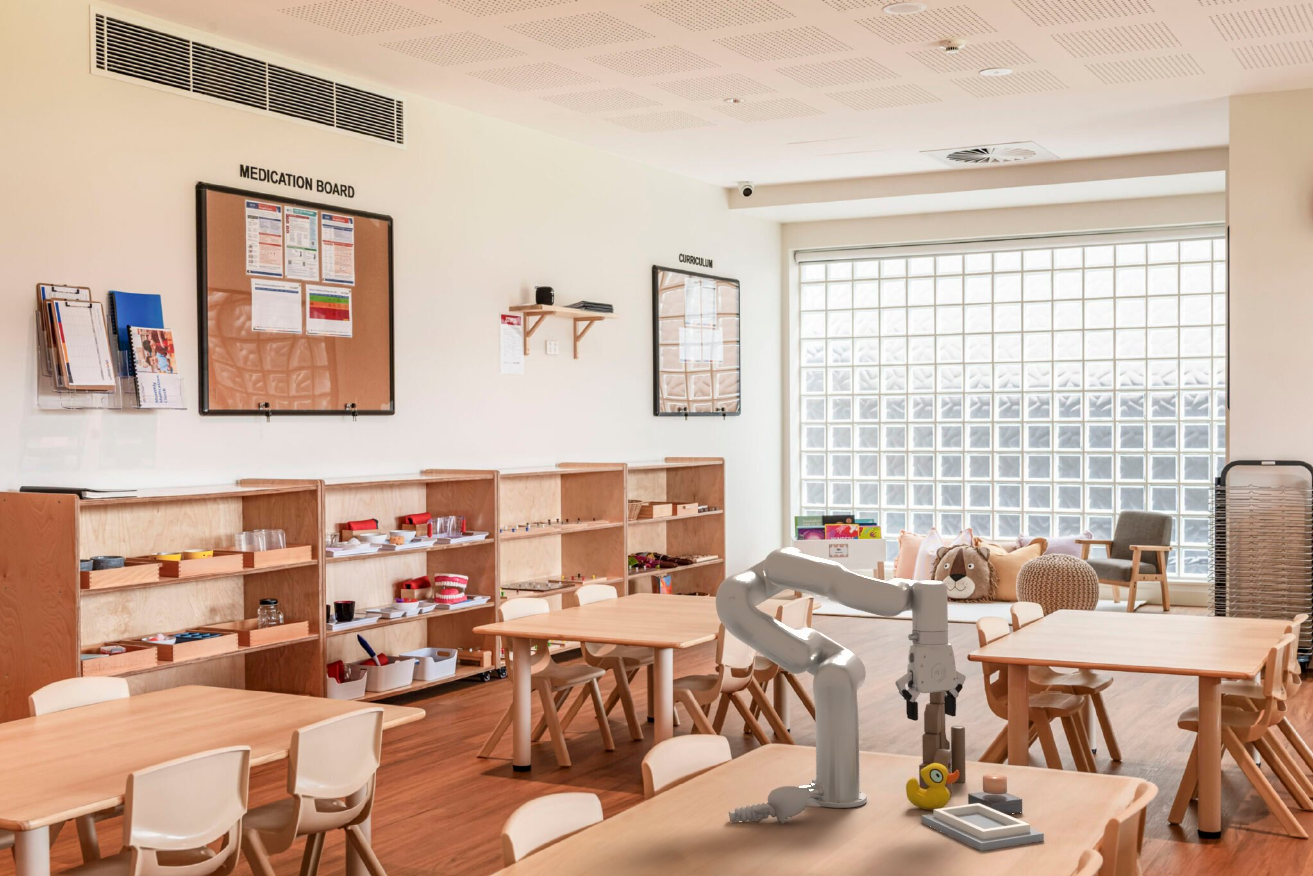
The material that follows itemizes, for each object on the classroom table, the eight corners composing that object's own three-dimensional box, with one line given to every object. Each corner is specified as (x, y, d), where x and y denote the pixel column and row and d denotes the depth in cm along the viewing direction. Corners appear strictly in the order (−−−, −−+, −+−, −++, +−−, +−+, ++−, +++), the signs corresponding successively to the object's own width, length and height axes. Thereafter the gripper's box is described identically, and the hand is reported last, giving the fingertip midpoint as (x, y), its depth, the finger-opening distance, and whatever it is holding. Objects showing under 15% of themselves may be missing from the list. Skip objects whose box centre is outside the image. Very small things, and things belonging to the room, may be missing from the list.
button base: (991, 817, 260) (991, 803, 261) (968, 807, 268) (968, 793, 268) (1022, 813, 264) (1022, 798, 264) (998, 803, 271) (998, 789, 271)
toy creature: (726, 798, 266) (818, 783, 266) (732, 833, 263) (824, 818, 263) (725, 793, 254) (821, 778, 254) (731, 831, 251) (828, 815, 251)
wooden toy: (948, 797, 276) (947, 685, 276) (919, 793, 280) (917, 682, 280) (967, 780, 290) (966, 674, 290) (939, 777, 293) (938, 671, 293)
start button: (992, 795, 262) (992, 781, 263) (978, 789, 267) (977, 775, 267) (1011, 792, 264) (1011, 778, 264) (997, 787, 269) (996, 773, 269)
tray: (981, 851, 239) (981, 835, 239) (921, 822, 257) (921, 808, 257) (1043, 841, 245) (1043, 825, 245) (980, 814, 263) (980, 799, 263)
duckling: (961, 808, 267) (960, 762, 267) (958, 815, 262) (958, 768, 262) (907, 804, 271) (907, 758, 271) (904, 810, 266) (904, 764, 266)
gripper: (906, 643, 260) (907, 724, 260) (974, 637, 267) (975, 717, 267) (886, 638, 267) (887, 717, 267) (953, 633, 274) (954, 710, 274)
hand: (931, 717), depth 267 cm, fingers open, 9 cm apart
